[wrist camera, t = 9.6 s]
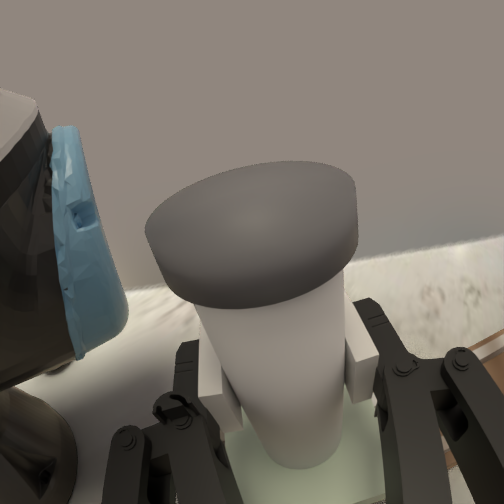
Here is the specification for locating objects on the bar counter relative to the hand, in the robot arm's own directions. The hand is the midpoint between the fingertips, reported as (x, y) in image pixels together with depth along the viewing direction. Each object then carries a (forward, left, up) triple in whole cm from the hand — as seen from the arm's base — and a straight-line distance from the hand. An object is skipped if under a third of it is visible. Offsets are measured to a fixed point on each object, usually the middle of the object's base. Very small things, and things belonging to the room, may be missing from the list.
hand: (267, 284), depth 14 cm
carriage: (+4, -3, -9) cm, 10 cm away
